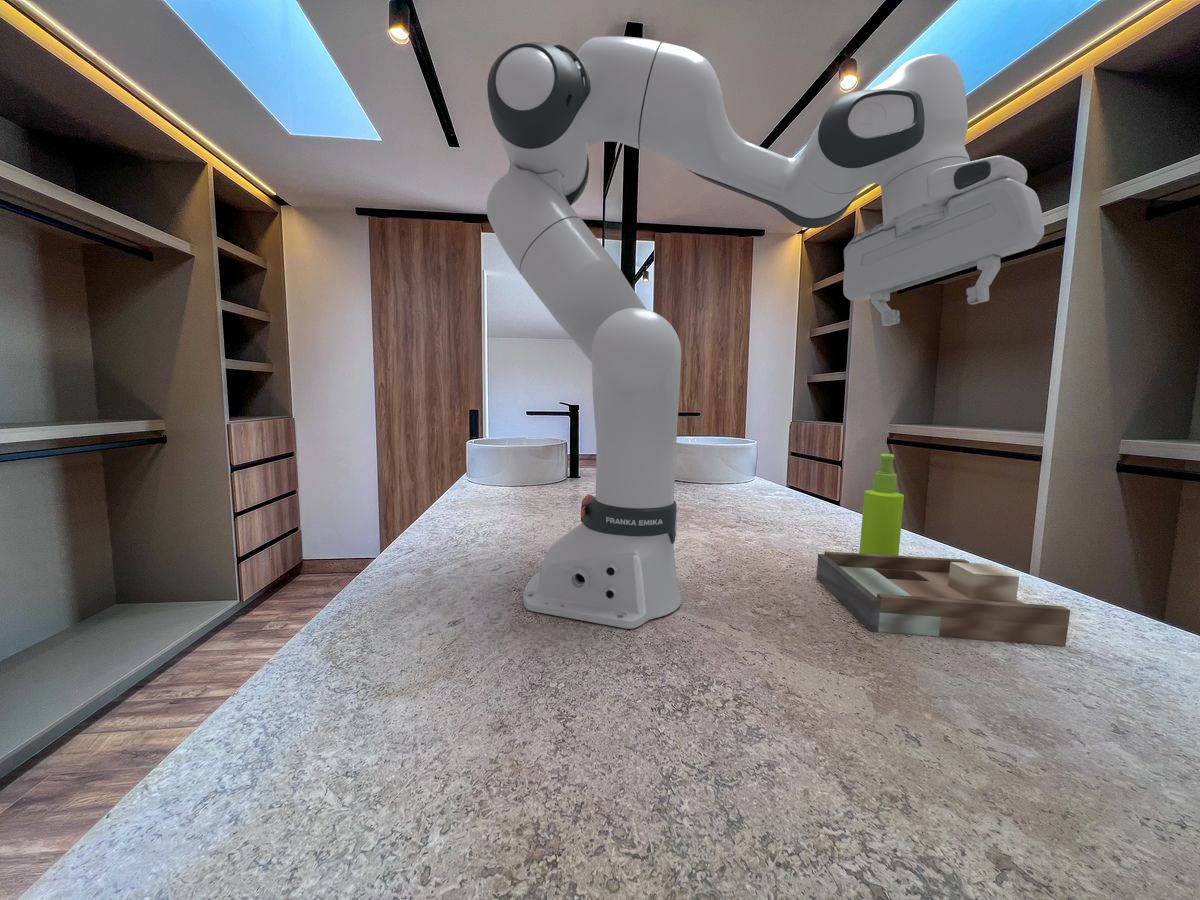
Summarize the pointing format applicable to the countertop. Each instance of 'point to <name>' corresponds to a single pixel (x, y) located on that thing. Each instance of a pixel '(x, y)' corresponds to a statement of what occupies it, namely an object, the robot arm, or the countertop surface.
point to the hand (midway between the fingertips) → (931, 314)
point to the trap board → (931, 601)
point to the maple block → (983, 581)
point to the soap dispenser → (882, 513)
